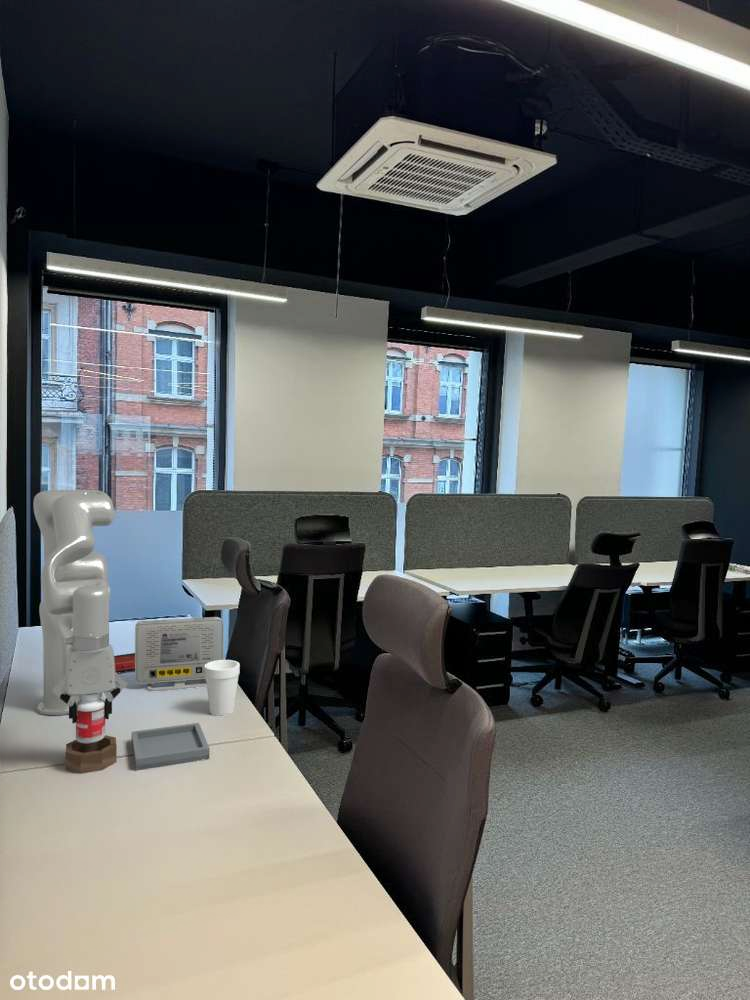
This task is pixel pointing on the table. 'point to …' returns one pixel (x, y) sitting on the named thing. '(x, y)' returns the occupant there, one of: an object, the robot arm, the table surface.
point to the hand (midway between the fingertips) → (90, 718)
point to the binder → (124, 662)
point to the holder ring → (91, 755)
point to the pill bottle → (90, 718)
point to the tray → (169, 746)
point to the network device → (176, 650)
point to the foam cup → (222, 685)
